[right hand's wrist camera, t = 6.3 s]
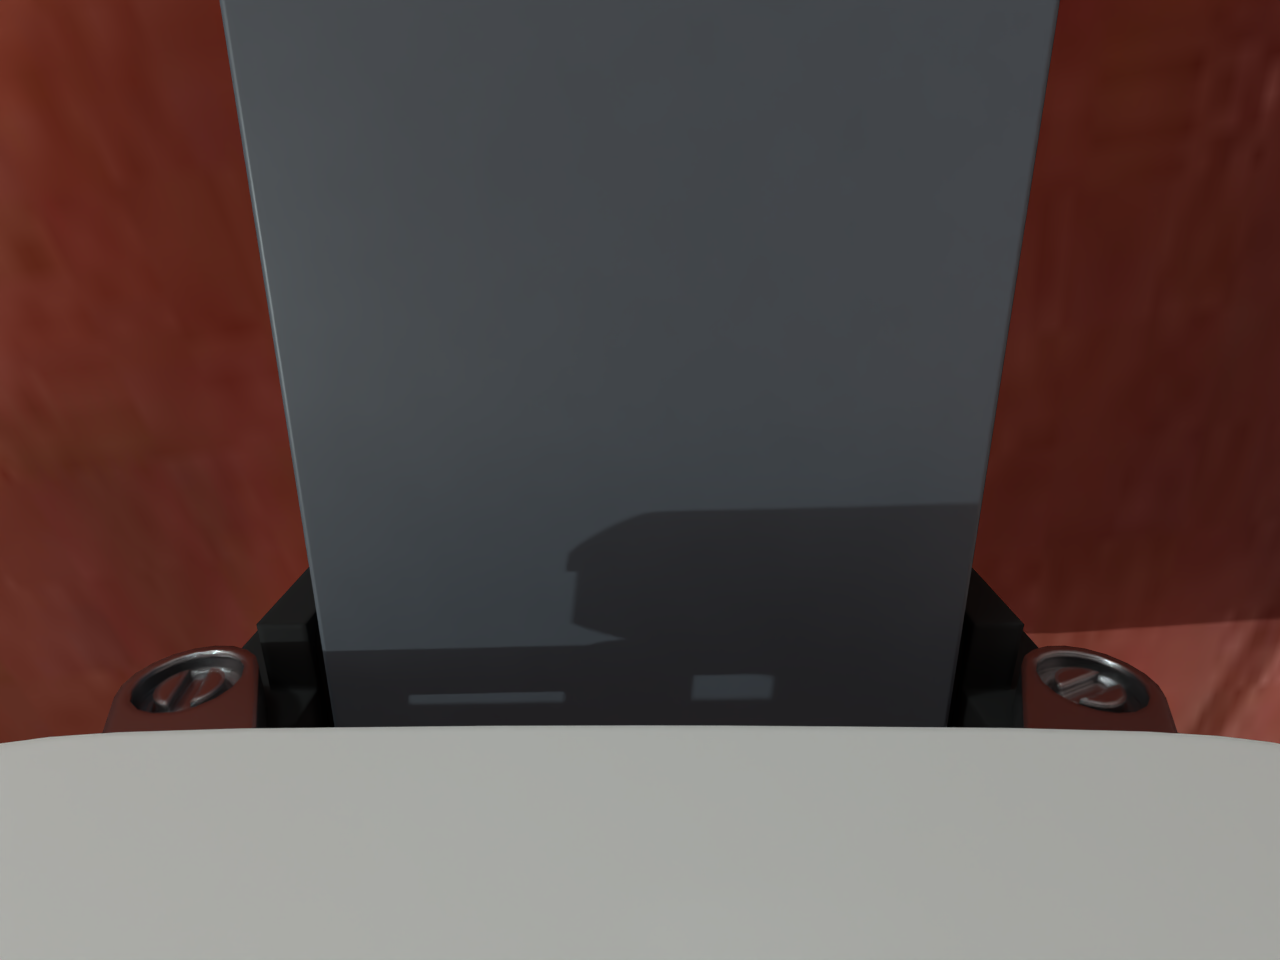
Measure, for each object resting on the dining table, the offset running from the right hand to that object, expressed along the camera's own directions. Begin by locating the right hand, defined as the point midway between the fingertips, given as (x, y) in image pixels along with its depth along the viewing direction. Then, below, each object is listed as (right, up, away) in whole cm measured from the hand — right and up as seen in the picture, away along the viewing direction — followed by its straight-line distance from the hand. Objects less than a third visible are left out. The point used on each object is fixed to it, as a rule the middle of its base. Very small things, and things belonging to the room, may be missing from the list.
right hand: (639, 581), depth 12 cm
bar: (0, +34, -10) cm, 35 cm away
